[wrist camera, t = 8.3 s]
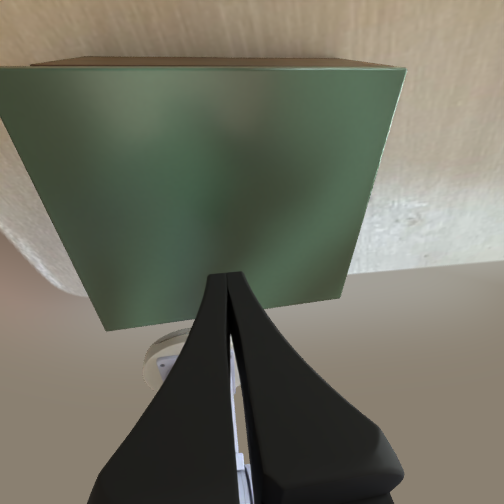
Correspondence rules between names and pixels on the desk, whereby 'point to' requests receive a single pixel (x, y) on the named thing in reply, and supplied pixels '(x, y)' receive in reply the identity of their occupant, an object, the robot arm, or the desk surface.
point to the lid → (201, 176)
